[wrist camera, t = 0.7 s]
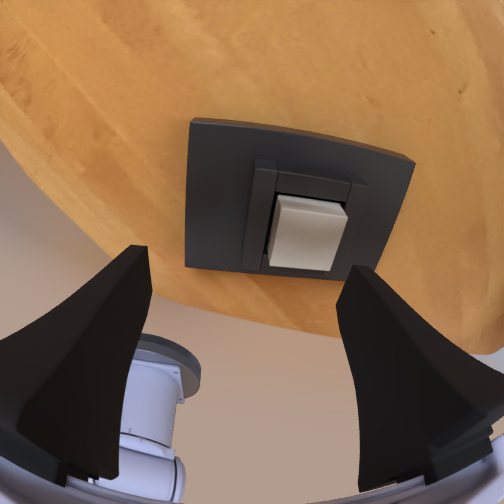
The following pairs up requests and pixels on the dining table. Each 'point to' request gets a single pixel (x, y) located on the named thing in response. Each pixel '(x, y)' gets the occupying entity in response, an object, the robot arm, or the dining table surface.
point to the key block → (284, 183)
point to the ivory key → (305, 233)
